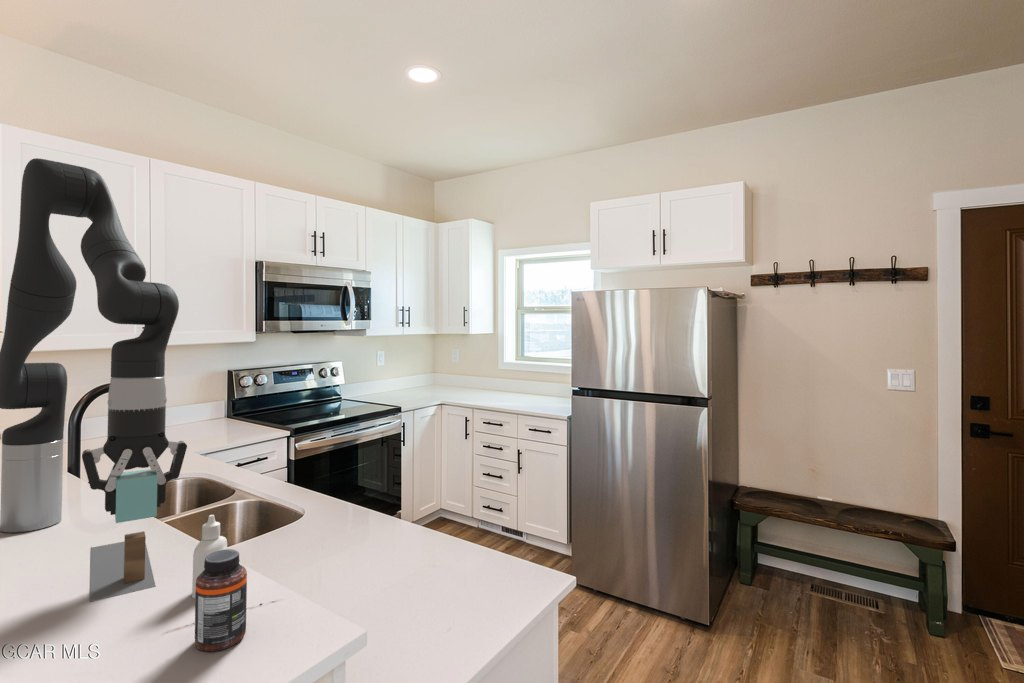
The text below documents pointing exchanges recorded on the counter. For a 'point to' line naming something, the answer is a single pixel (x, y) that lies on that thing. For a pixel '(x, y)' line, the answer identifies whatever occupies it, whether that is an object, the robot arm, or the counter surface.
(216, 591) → the supplement bottle
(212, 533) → the eye dropper bottle
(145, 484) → the teal rectangular block
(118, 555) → the mat
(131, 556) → the post
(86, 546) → the counter surface
